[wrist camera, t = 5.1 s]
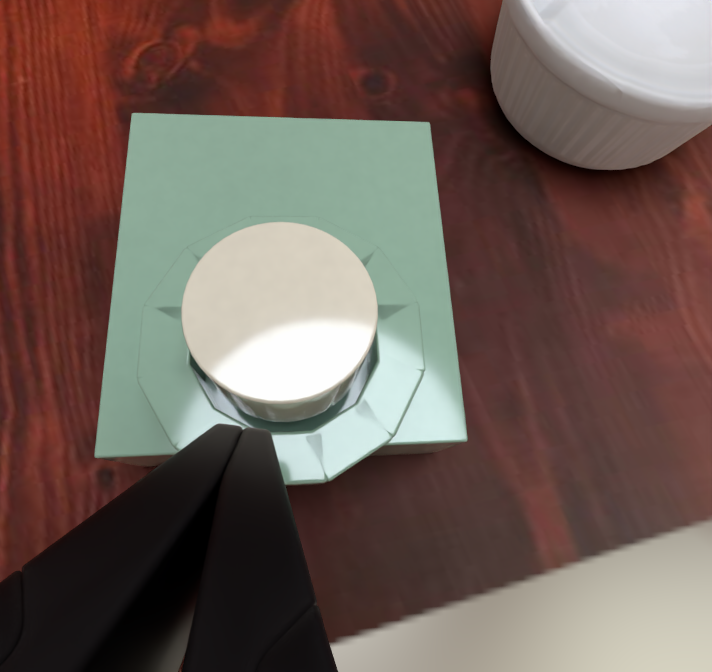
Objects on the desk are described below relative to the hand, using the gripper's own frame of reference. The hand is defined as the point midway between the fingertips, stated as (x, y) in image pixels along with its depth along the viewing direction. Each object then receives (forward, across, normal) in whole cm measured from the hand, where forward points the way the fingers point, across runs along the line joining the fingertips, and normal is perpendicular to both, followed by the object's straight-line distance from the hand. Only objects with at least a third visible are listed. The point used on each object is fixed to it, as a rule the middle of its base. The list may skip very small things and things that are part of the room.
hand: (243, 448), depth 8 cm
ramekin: (+20, -11, -7) cm, 24 cm away
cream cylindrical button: (+5, 0, +1) cm, 5 cm away
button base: (+11, 0, +2) cm, 11 cm away
